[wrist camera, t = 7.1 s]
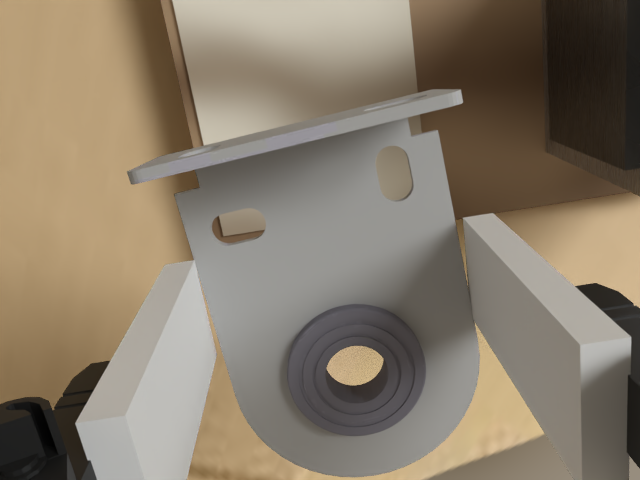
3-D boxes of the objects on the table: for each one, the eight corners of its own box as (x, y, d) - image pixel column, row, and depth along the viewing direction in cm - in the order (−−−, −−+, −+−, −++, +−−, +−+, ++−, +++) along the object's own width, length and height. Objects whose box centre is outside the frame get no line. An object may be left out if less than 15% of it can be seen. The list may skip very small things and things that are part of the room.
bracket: (268, 475, 18) (262, 574, 14) (160, 143, 15) (121, 173, 11) (488, 426, 17) (533, 515, 14) (426, 77, 14) (465, 88, 11)
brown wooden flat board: (154, -67, 25) (142, -75, 23) (685, -153, 25) (719, -170, 23) (222, 243, 30) (217, 258, 28) (671, 172, 30) (699, 182, 28)
